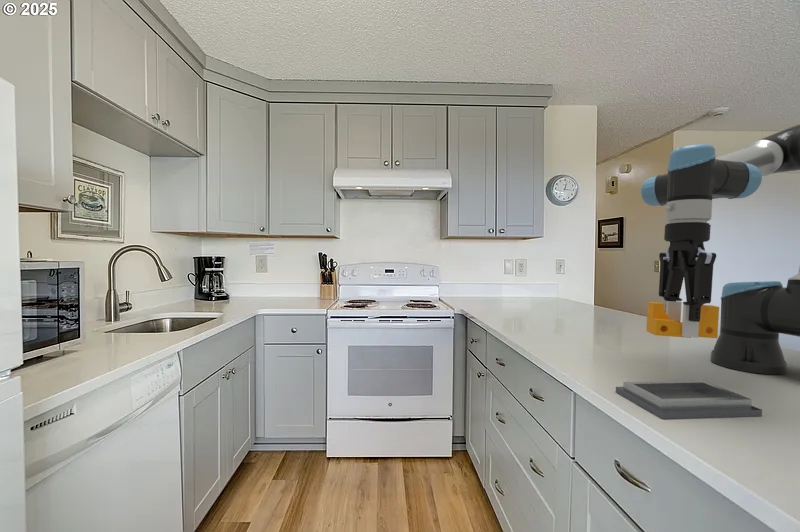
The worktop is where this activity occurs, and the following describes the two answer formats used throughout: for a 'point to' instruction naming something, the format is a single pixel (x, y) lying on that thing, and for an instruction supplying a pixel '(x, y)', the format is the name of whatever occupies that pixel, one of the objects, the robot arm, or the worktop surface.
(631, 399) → the rail plate
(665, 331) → the pipe clamp
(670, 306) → the robot arm
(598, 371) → the worktop surface
